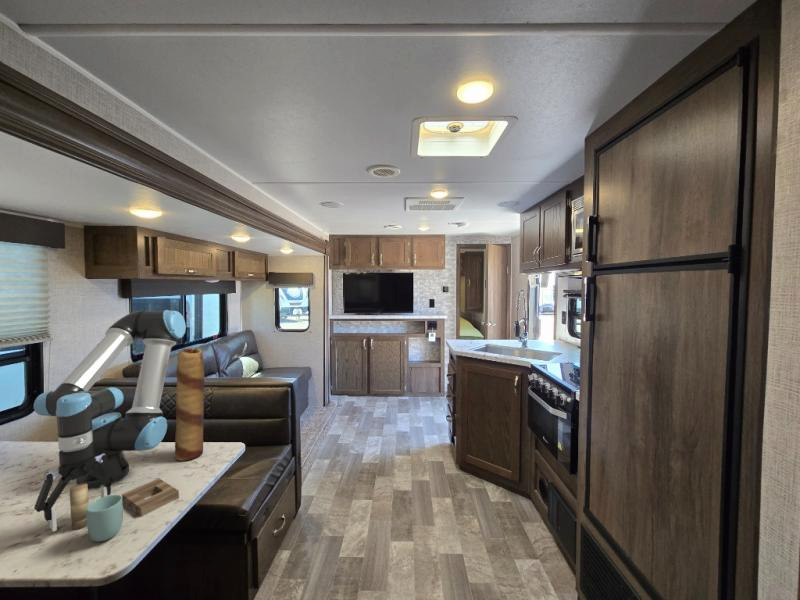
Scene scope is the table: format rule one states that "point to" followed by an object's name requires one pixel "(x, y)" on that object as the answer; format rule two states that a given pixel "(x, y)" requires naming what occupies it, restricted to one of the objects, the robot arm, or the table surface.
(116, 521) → the cup
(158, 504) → the box with square hole
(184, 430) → the wafer roll
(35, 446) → the table surface
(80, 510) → the peg
